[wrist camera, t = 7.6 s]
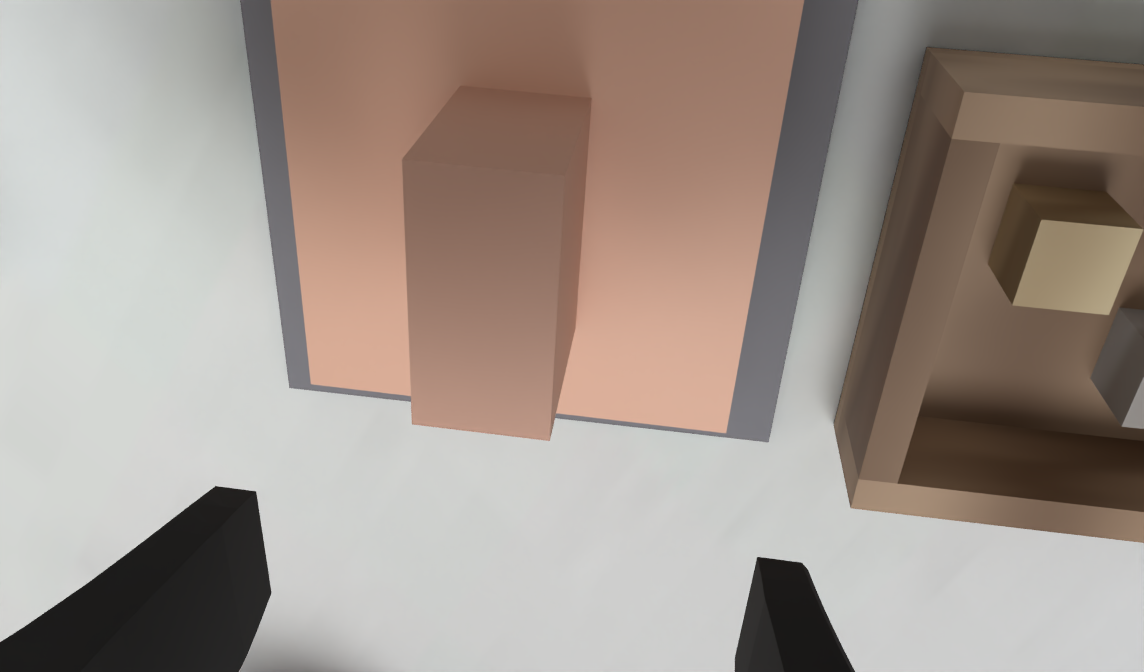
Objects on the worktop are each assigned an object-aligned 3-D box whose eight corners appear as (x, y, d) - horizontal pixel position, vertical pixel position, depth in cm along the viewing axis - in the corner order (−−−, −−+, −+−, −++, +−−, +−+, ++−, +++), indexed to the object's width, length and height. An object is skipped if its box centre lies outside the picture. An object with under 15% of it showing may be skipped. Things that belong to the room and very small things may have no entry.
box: (1424, 87, 17) (1551, 141, 15) (1222, 468, 22) (1291, 560, 19) (926, 47, 18) (964, 91, 15) (833, 425, 22) (851, 508, 20)
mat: (875, -102, 17) (878, -100, 16) (767, 434, 23) (768, 442, 23) (229, -147, 18) (221, -147, 17) (293, 381, 24) (289, 387, 23)
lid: (799, -30, 17) (836, 40, 13) (724, 397, 22) (731, 560, 17) (293, -72, 18) (151, -20, 13) (331, 352, 23) (237, 497, 18)
